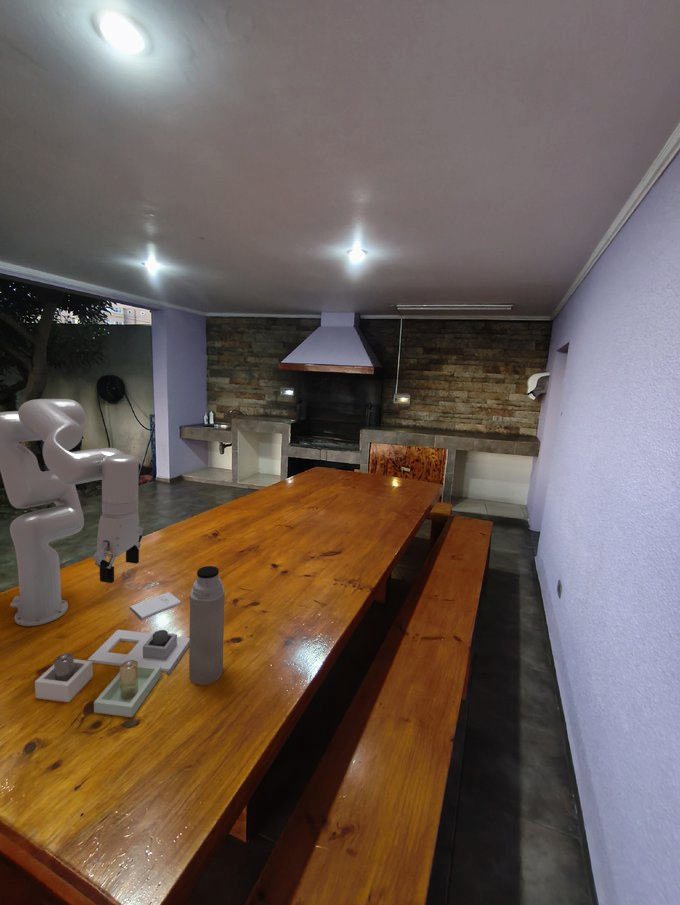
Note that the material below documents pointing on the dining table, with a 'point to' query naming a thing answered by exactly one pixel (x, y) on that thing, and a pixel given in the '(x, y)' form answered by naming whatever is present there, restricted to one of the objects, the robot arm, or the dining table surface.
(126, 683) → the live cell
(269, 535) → the dining table surface
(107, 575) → the robot arm
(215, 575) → the thermos bottle
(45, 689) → the white open box
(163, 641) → the test button
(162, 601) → the external hard drive
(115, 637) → the checker
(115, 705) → the pale green trough
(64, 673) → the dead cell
